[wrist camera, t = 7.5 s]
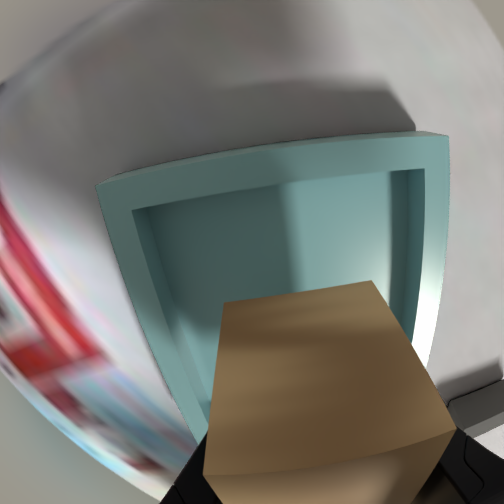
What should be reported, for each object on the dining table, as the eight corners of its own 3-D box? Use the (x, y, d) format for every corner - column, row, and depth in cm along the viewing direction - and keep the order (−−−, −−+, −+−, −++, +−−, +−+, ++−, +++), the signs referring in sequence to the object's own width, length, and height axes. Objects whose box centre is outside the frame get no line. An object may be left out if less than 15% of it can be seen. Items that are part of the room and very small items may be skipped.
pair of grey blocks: (415, 474, 20) (422, 496, 18) (450, 401, 16) (464, 429, 14) (461, 456, 20) (470, 476, 18) (505, 378, 16) (521, 402, 13)
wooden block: (257, 430, 11) (259, 549, 6) (223, 302, 9) (202, 475, 4) (361, 414, 11) (392, 527, 6) (371, 280, 8) (456, 428, 4)
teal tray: (201, 418, 16) (198, 444, 14) (116, 174, 11) (95, 185, 9) (402, 388, 15) (413, 412, 13) (422, 131, 10) (448, 135, 8)
